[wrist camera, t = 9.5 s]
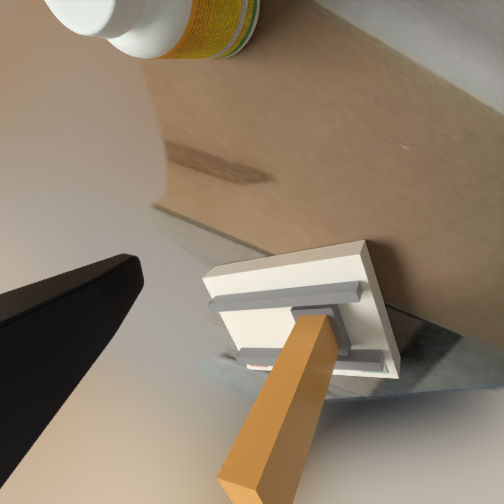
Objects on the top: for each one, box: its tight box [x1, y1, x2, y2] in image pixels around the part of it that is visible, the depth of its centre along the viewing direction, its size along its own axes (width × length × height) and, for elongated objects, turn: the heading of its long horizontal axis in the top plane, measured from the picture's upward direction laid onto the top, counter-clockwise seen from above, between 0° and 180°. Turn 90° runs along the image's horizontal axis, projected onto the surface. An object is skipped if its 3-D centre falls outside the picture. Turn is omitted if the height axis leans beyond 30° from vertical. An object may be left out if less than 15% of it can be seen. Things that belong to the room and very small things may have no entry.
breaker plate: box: [202, 240, 401, 379], centre depth 24 cm, size 13×10×3 cm
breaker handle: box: [217, 304, 352, 504], centre depth 18 cm, size 3×4×12 cm
